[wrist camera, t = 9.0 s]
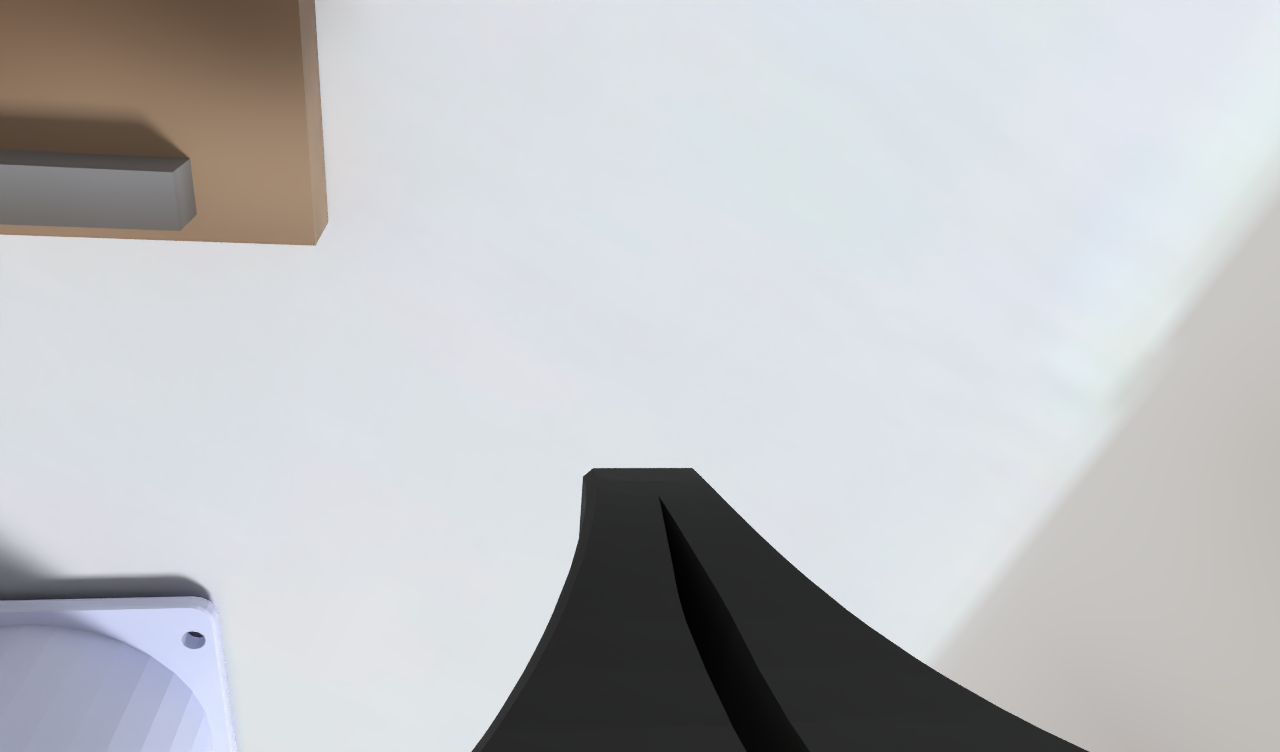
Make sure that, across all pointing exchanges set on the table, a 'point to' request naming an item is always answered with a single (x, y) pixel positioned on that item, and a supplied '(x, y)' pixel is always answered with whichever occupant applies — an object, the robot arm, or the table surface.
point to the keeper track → (161, 120)
